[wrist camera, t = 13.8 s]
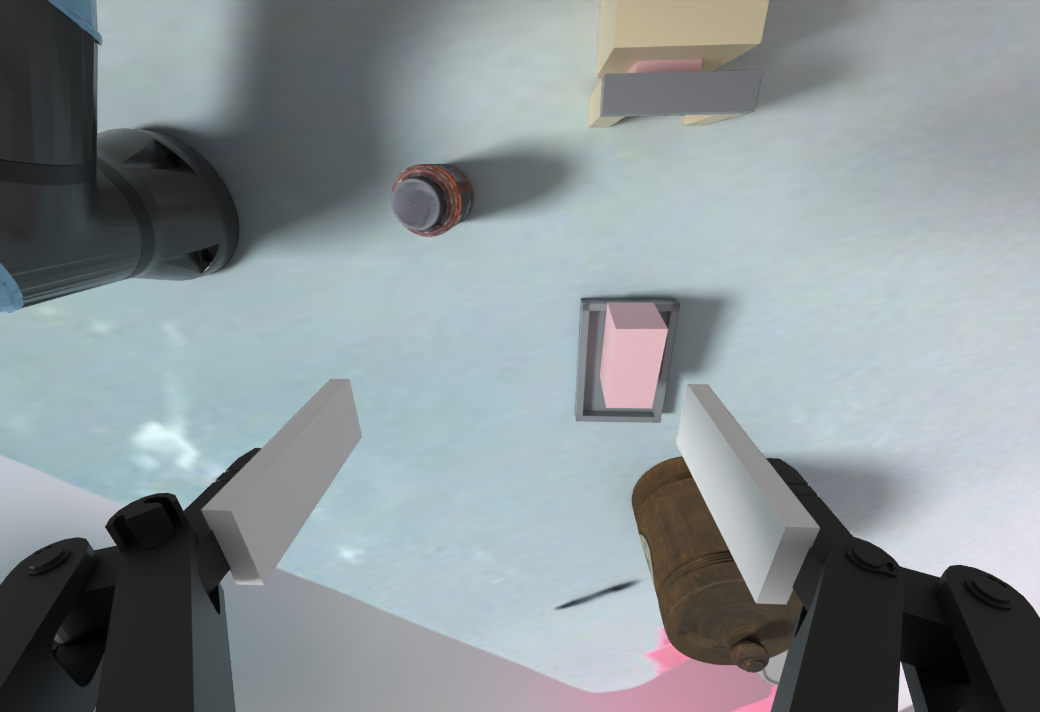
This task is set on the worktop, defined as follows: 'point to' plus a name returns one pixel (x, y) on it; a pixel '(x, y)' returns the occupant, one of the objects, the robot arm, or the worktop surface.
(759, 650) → the wooden container
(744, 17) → the dispenser
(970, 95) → the worktop surface
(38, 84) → the robot arm
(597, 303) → the tray
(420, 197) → the supplement bottle
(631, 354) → the pink rectangular block
